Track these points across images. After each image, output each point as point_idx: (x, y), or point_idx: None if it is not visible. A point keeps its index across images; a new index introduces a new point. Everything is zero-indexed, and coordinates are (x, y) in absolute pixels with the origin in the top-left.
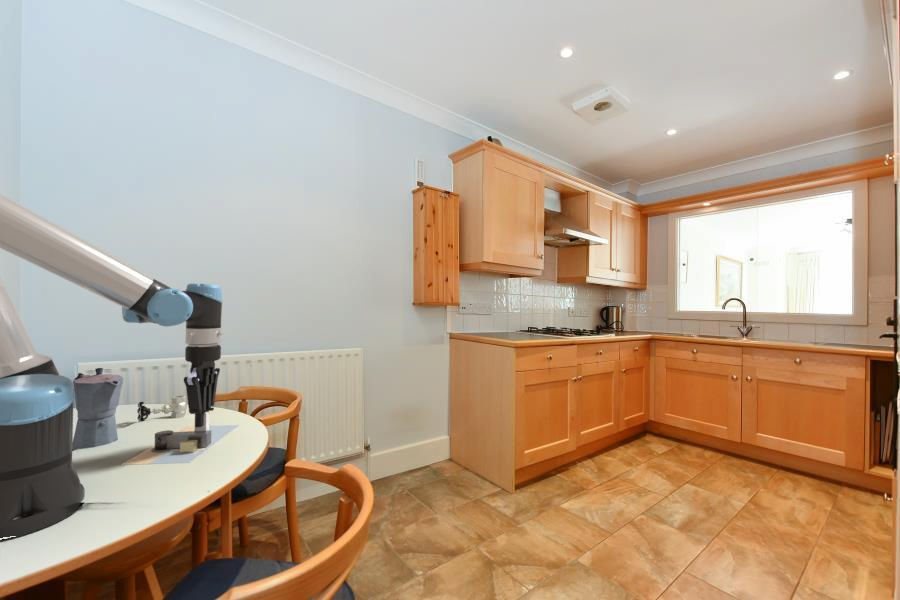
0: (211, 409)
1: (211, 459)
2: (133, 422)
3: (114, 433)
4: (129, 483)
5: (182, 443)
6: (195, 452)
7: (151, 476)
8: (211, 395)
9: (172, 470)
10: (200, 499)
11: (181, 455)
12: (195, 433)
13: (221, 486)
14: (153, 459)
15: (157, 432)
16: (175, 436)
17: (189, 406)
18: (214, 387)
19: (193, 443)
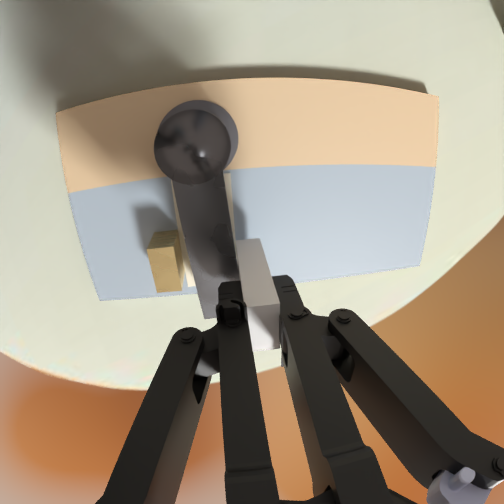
0: (281, 363)
1: (162, 313)
2: None
3: None
4: (13, 209)
5: (149, 255)
6: None
7: (47, 232)
8: (351, 390)
9: (83, 260)
10: (28, 365)
11: (138, 248)
12: (206, 278)
13: (65, 377)
14: (97, 182)
15: (197, 110)
16: (179, 209)
17: (162, 367)
18: (377, 430)
19: (157, 289)
